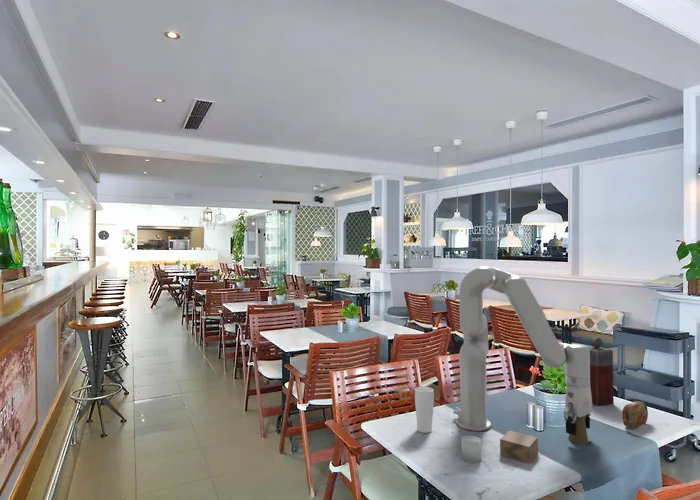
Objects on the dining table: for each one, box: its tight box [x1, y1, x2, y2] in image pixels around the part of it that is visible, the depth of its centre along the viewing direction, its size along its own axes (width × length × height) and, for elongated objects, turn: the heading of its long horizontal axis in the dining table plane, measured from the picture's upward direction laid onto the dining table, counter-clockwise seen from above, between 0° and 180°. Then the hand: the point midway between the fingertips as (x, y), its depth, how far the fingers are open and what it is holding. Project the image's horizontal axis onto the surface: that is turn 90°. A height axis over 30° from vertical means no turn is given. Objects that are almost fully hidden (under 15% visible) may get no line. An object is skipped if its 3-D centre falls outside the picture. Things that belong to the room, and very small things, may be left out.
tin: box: [621, 400, 649, 430], centre depth 162 cm, size 15×3×8 cm, turn 123°
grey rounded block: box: [460, 435, 482, 464], centre depth 135 cm, size 6×6×6 cm
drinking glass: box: [414, 386, 435, 434], centre depth 157 cm, size 7×7×15 cm
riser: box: [499, 430, 539, 464], centre depth 138 cm, size 9×9×5 cm
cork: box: [568, 412, 589, 445], centre depth 149 cm, size 6×6×11 cm
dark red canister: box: [587, 336, 615, 407], centre depth 190 cm, size 9×11×28 cm
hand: (578, 430), depth 149 cm, fingers open, 9 cm apart
